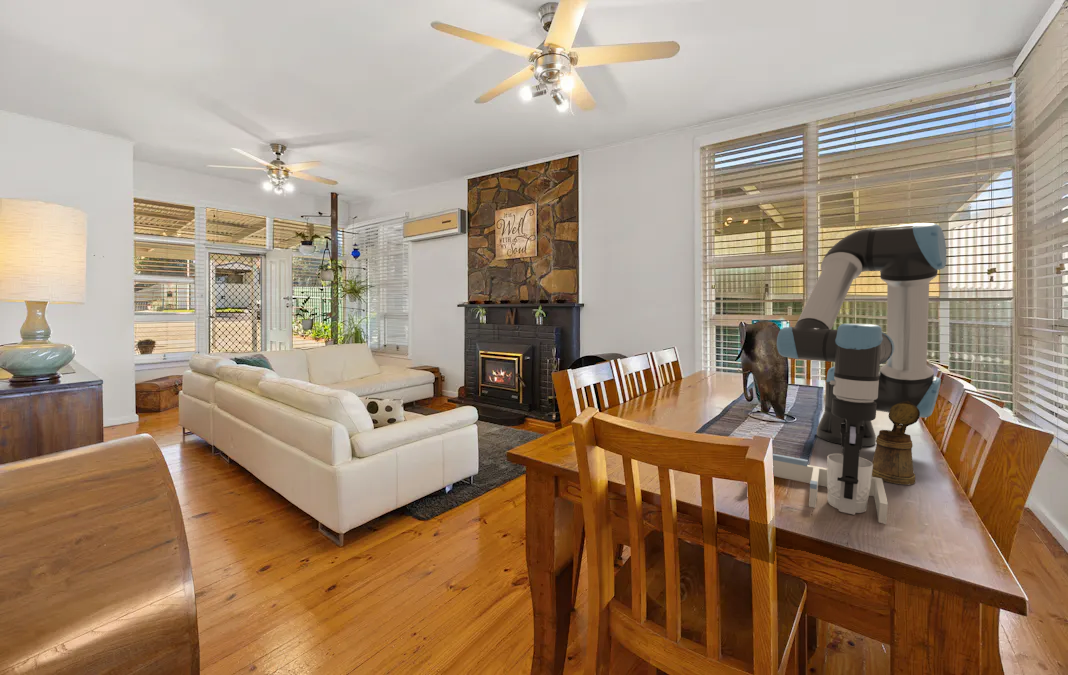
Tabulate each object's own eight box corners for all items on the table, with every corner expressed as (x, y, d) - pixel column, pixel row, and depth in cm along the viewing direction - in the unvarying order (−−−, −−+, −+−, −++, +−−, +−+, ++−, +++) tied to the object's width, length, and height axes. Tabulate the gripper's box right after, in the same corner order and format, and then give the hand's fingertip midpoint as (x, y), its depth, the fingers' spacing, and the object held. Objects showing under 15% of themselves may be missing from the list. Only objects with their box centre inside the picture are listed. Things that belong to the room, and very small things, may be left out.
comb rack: (758, 471, 113) (759, 451, 113) (880, 495, 100) (882, 473, 99) (747, 492, 101) (749, 470, 100) (886, 524, 87) (888, 498, 87)
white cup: (829, 494, 100) (832, 450, 99) (873, 506, 95) (876, 460, 94) (820, 505, 95) (823, 459, 94) (865, 518, 89) (869, 470, 88)
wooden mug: (925, 474, 112) (931, 404, 110) (909, 488, 104) (915, 412, 102) (882, 464, 119) (887, 397, 117) (863, 476, 111) (868, 404, 109)
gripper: (833, 388, 103) (826, 484, 105) (831, 405, 86) (823, 519, 88) (873, 392, 99) (866, 492, 101) (880, 411, 82) (871, 530, 84)
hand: (846, 504), depth 95 cm, fingers closed on white cup, 7 cm apart
